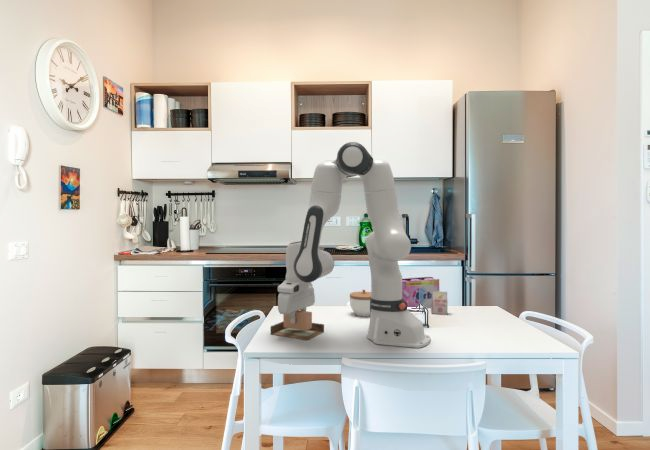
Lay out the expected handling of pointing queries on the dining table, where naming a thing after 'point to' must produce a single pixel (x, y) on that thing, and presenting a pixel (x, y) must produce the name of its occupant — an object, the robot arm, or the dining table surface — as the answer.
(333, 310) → the dining table surface
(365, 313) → the lidded bowl
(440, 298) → the small beige carton
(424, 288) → the gum box
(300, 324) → the terracotta block
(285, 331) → the brown wooden flat frame
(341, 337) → the dining table surface
